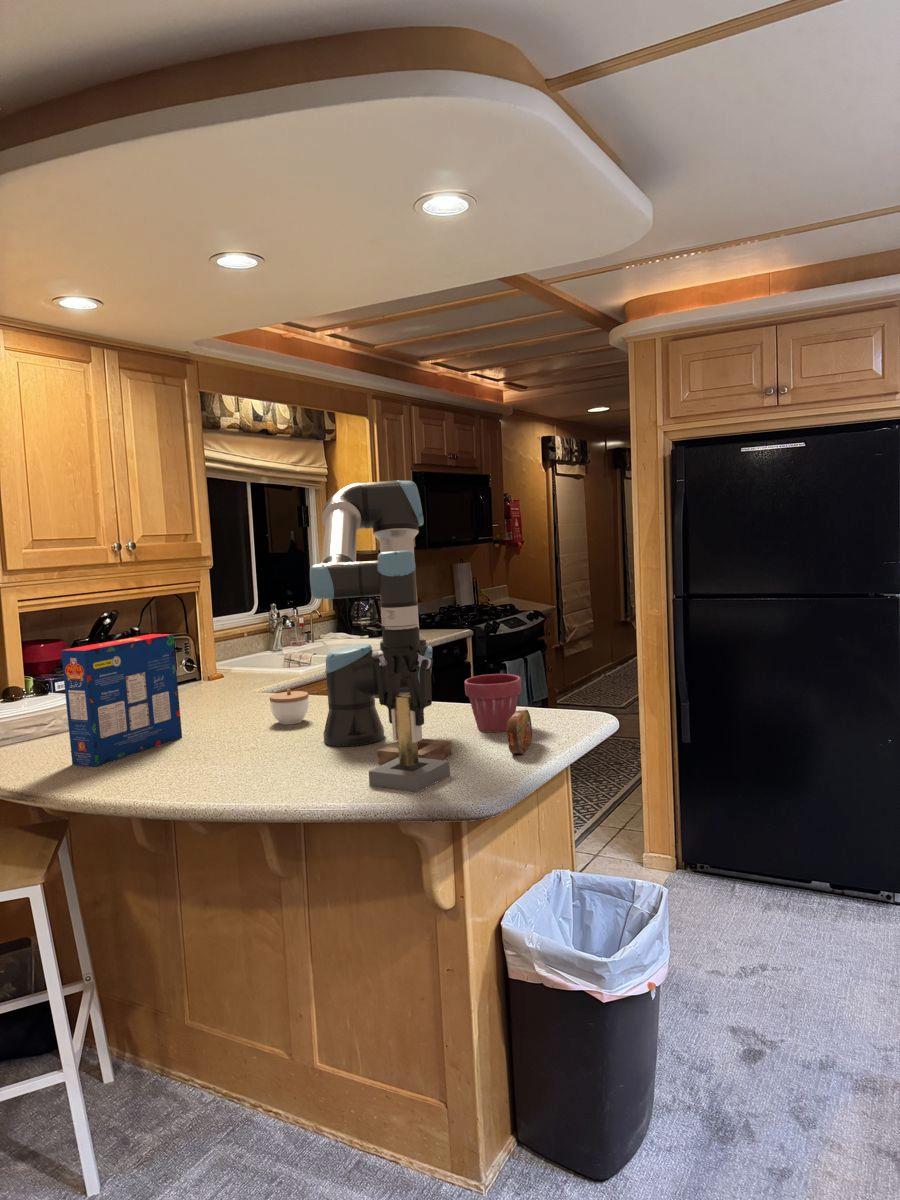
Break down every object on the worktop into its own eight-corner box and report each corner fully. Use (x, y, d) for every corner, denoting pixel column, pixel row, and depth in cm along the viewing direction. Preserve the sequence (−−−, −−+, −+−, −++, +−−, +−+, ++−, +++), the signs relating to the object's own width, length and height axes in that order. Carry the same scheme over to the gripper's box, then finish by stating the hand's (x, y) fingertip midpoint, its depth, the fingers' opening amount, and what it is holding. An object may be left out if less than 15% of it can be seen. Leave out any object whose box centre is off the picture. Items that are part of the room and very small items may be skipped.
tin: (520, 758, 182) (518, 721, 181) (506, 758, 183) (504, 720, 182) (533, 741, 196) (531, 706, 196) (520, 740, 197) (518, 706, 197)
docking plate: (369, 785, 169) (368, 771, 168) (402, 769, 179) (401, 755, 179) (418, 792, 162) (417, 777, 162) (450, 775, 173) (449, 760, 172)
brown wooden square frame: (378, 763, 185) (377, 750, 184) (408, 749, 195) (407, 737, 195) (423, 768, 178) (422, 755, 178) (451, 754, 189) (450, 741, 188)
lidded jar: (318, 719, 234) (315, 686, 233) (291, 728, 225) (289, 694, 224) (290, 716, 240) (287, 684, 239) (263, 725, 231) (260, 691, 230)
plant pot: (461, 735, 206) (458, 684, 205) (473, 721, 220) (470, 674, 218) (518, 735, 202) (515, 683, 201) (527, 721, 216) (524, 673, 215)
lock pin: (395, 764, 170) (391, 697, 168) (406, 759, 173) (402, 693, 172) (411, 766, 168) (407, 698, 166) (422, 761, 171) (418, 694, 170)
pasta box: (160, 736, 224) (150, 634, 222) (182, 737, 221) (173, 634, 219) (72, 764, 199) (61, 650, 197) (95, 767, 196) (84, 650, 194)
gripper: (355, 628, 169) (363, 741, 171) (425, 629, 160) (433, 748, 162) (377, 624, 176) (384, 732, 178) (445, 624, 167) (452, 738, 169)
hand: (407, 739), depth 170 cm, fingers closed on lock pin, 4 cm apart
